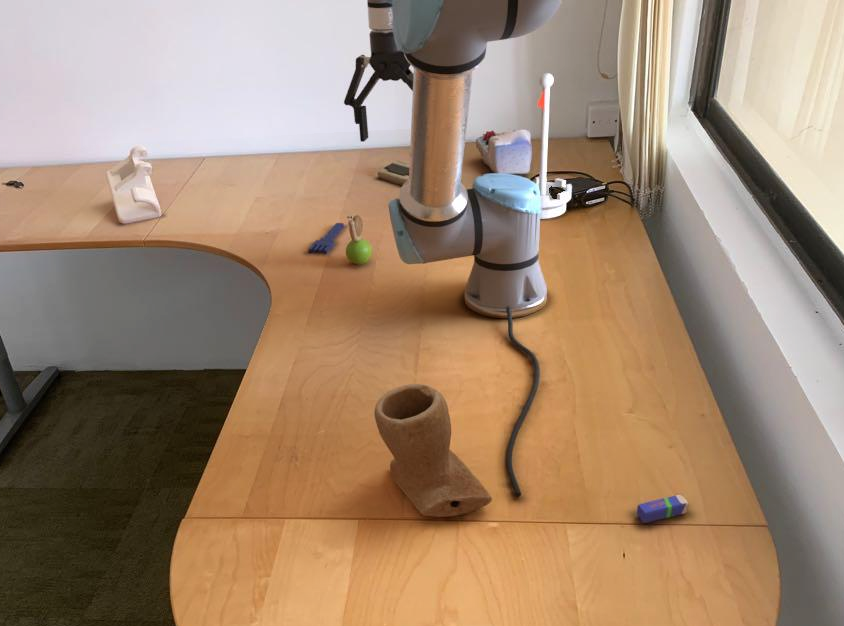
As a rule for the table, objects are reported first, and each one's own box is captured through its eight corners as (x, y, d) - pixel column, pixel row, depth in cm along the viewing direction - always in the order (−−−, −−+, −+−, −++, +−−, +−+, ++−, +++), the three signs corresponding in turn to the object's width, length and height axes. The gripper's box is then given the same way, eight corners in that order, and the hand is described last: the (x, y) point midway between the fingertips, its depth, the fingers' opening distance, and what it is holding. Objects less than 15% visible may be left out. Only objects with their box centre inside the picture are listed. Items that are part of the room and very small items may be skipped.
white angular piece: (167, 230, 217) (161, 194, 206) (123, 239, 215) (114, 203, 203) (150, 175, 226) (143, 138, 215) (107, 184, 224) (98, 146, 212)
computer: (377, 179, 220) (376, 166, 218) (400, 170, 224) (399, 158, 222) (419, 191, 210) (418, 178, 208) (442, 182, 214) (441, 169, 212)
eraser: (687, 514, 107) (689, 502, 106) (643, 525, 106) (645, 513, 105) (678, 504, 108) (680, 493, 107) (635, 515, 108) (637, 503, 107)
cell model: (492, 139, 204) (472, 119, 221) (492, 182, 210) (473, 159, 227) (544, 131, 205) (521, 112, 222) (543, 175, 211) (520, 153, 227)
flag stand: (524, 196, 201) (528, 64, 184) (578, 202, 195) (587, 66, 178) (503, 216, 192) (505, 80, 175) (559, 223, 186) (566, 82, 169)
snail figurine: (342, 270, 176) (336, 215, 169) (351, 257, 181) (346, 204, 174) (367, 271, 175) (362, 216, 168) (375, 258, 180) (371, 204, 173)
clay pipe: (369, 471, 120) (360, 383, 112) (445, 448, 123) (441, 361, 114) (411, 538, 108) (404, 445, 100) (494, 511, 111) (494, 418, 102)
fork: (326, 254, 184) (325, 250, 183) (308, 252, 185) (308, 249, 185) (348, 226, 195) (348, 223, 195) (331, 226, 197) (331, 222, 196)
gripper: (457, 22, 159) (459, 135, 171) (335, 26, 167) (345, 133, 179) (446, 31, 153) (449, 147, 165) (321, 34, 162) (332, 144, 174)
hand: (395, 140), depth 172 cm, fingers open, 13 cm apart
